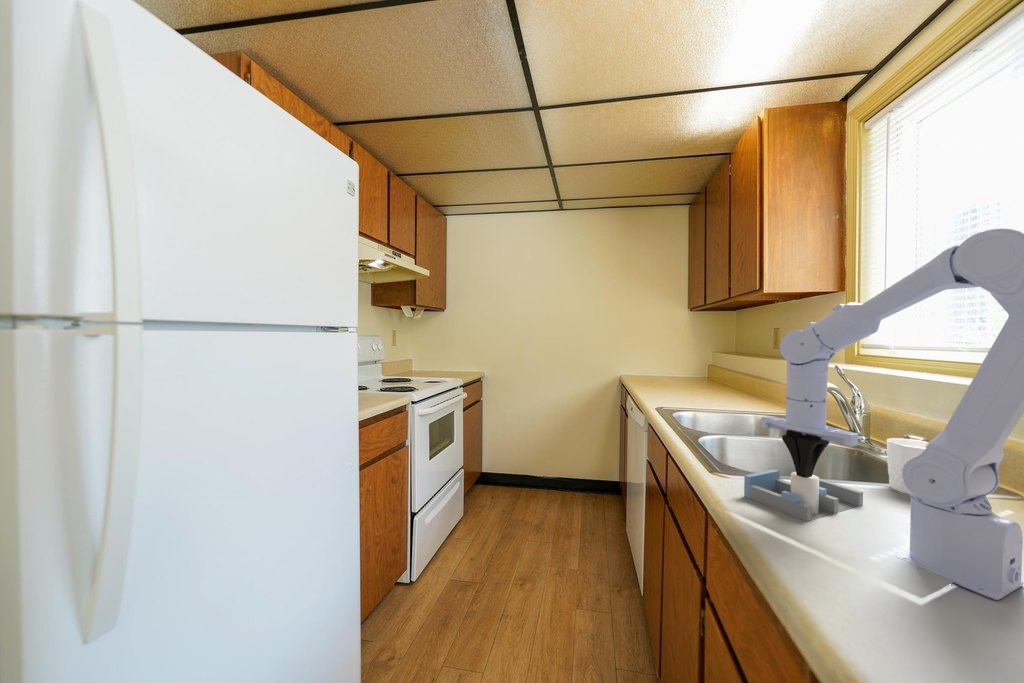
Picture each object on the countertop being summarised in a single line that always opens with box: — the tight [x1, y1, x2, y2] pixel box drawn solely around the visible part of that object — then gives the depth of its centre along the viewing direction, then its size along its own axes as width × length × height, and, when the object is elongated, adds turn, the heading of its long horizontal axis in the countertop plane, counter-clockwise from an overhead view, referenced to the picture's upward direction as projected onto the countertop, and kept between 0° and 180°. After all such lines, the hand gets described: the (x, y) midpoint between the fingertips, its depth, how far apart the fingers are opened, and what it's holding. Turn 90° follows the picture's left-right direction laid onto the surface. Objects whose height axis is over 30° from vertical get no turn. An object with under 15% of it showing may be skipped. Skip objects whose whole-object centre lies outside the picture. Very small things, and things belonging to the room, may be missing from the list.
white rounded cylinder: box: [790, 471, 820, 515], centre depth 69 cm, size 4×4×6 cm
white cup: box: [886, 437, 930, 496], centre depth 79 cm, size 8×8×10 cm
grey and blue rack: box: [743, 469, 864, 523], centre depth 73 cm, size 11×16×5 cm
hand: (804, 476), depth 69 cm, fingers closed, pressing on white rounded cylinder
